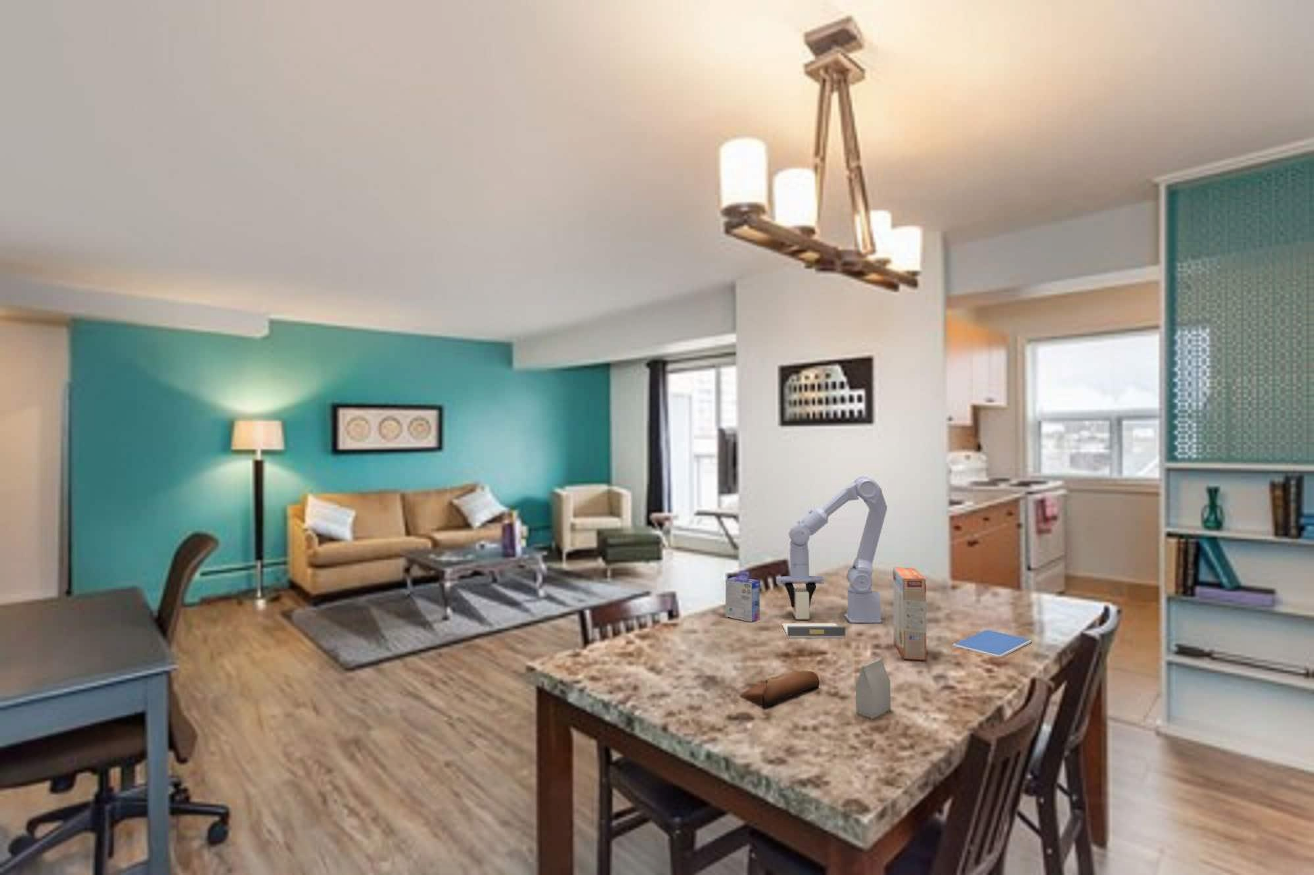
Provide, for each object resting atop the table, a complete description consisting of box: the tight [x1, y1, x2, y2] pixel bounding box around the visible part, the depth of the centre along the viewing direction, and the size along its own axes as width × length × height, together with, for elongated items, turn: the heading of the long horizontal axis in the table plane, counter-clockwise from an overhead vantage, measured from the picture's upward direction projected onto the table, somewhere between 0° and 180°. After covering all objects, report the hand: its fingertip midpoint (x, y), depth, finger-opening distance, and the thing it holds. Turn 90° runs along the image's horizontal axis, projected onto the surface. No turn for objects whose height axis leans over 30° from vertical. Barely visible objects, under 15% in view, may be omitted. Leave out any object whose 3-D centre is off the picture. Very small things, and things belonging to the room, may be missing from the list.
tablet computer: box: [952, 629, 1032, 658], centre depth 167 cm, size 19×13×1 cm, turn 127°
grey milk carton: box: [855, 658, 892, 719], centre depth 128 cm, size 4×7×10 cm, turn 128°
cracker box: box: [892, 567, 927, 661], centre depth 163 cm, size 14×6×21 cm, turn 168°
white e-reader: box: [781, 622, 846, 639], centre depth 181 cm, size 16×12×3 cm
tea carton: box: [791, 587, 810, 620], centre depth 195 cm, size 4×7×8 cm, turn 177°
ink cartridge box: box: [725, 570, 761, 623], centre depth 196 cm, size 10×6×14 cm, turn 53°
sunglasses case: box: [739, 670, 820, 709], centre depth 138 cm, size 18×7×7 cm, turn 127°
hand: (800, 606), depth 195 cm, fingers closed on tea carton, 4 cm apart
